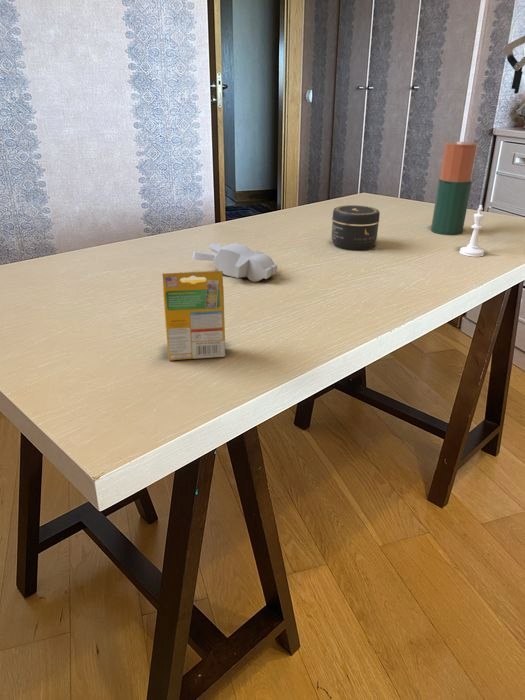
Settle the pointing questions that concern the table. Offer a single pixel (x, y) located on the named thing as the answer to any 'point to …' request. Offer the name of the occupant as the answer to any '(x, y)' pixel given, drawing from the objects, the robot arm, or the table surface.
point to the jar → (355, 227)
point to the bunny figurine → (239, 261)
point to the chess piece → (474, 237)
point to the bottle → (450, 207)
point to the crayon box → (194, 315)
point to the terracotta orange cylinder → (458, 161)
